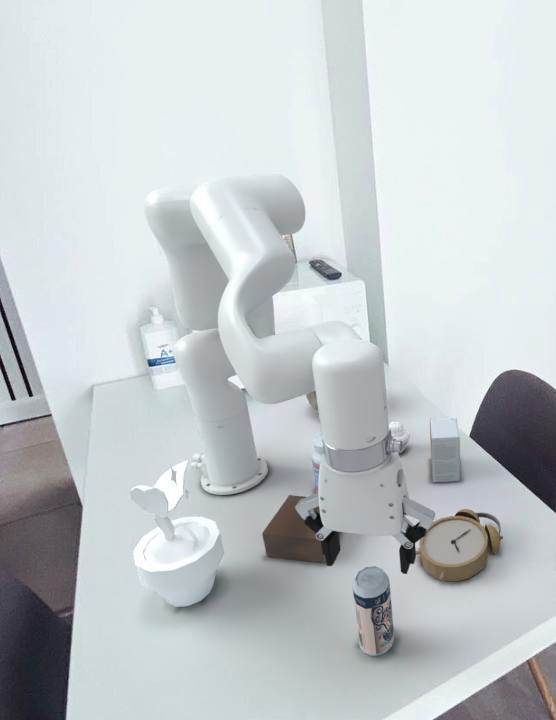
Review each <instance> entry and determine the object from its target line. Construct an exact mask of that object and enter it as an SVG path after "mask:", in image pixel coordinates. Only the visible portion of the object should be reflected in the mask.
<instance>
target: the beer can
mask: <svg viewBox="0 0 556 720" xmlns="http://www.w3.org/2000/svg"><path fill="white" fill-rule="evenodd" d="M351 588H352V593H353V602H354V610H355V611H354V612H355V617H356V627H357V634H358V642H359V648H360V650H361V651H362V652H363V653H364V654H365V655H368V656H375V657H376V656H381V655H383V654H385V653H386V652H388V651H389V650H390V649H391V648H392V647H393V644H394V643H395V630H394V629H395V628H394V617H393V605H392V594H391V593H392V592H391V583H390V577H389V575H388V573H386V571H385V570H384V569H383V568H381V567H379V566H376V565H373V566H365V567H364V568H362V569H361V570H359V571H358V572H357V574H356V575H355V577H354V579H353V581H352V587H351Z"/></svg>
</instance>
